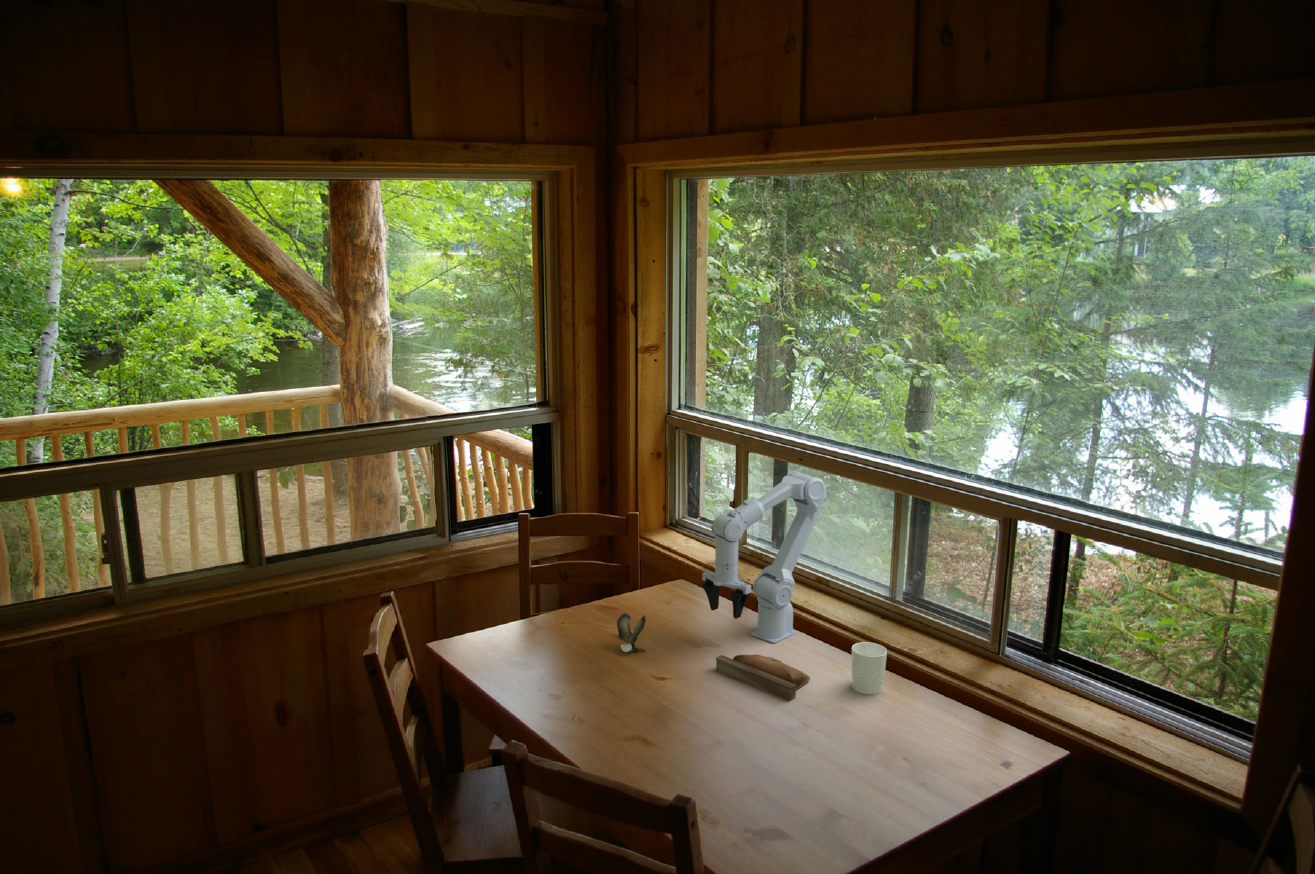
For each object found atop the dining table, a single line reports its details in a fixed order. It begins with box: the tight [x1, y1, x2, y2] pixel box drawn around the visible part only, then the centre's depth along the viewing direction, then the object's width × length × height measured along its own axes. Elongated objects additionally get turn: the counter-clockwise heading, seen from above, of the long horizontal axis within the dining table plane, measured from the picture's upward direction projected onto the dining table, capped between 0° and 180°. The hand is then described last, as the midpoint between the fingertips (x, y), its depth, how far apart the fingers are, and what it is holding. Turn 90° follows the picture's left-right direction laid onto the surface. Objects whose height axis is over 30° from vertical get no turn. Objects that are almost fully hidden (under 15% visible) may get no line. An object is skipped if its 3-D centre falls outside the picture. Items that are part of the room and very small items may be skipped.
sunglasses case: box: [732, 653, 811, 692], centre depth 211 cm, size 18×7×7 cm
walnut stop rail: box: [715, 654, 797, 702], centre depth 207 cm, size 2×22×3 cm, turn 45°
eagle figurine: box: [616, 612, 648, 655], centre depth 225 cm, size 8×7×9 cm
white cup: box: [851, 641, 888, 695], centre depth 204 cm, size 8×8×10 cm
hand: (725, 613), depth 226 cm, fingers open, 7 cm apart
